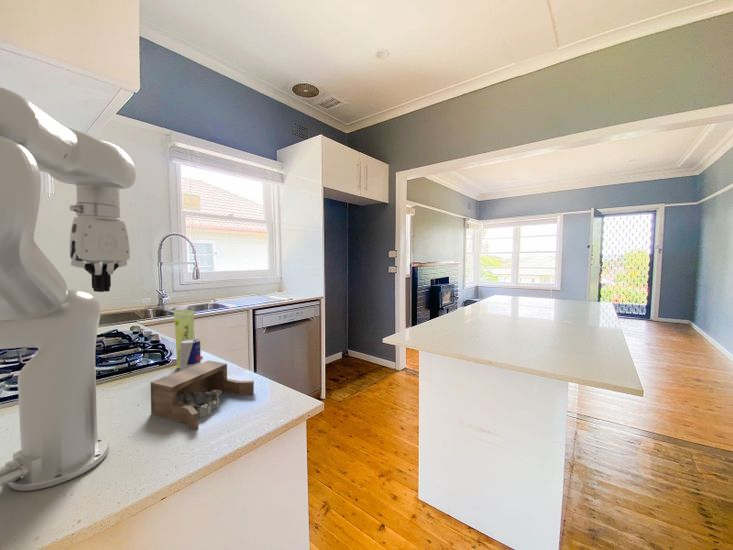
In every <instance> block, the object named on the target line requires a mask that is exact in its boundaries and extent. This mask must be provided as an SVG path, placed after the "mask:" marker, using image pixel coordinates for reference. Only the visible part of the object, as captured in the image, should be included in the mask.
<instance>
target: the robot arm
mask: <svg viewBox="0 0 733 550" xmlns="http://www.w3.org/2000/svg"><path fill="white" fill-rule="evenodd" d="M136 171H137V170H136V167H135V164H134V162H133V161H132V159H131V157H130V156H129V155H128V154H127V153H126V152H125V150H123V149H122V148H120V147H119V146H117V145H115V144H113V143H111V142H108V141H106V140H103V139H101V138H97V137H95V136H92V135H89V134H87V133H84V132H82V131H79V130H76V129H74V128H70V127H67V126H65V125H62V124H61V123H59V122H58V121H56V120H55V118H54V119H53V118H52V117H51V116H50V115H49V114H47V113H46V112H45V111H43V110H42V109H40V108H39V107H37V106H36V105H35V104H33V103H32V102H31V101H29V100H28V99H27V98H25V97H23V96H22V95H20V94H18V93H16V92H14V91H12V90H10V89H7V88H4V87H1V86H0V350H7V349H17V348H19V349H20V348H37V349H38V350H37V352H36V353H35V354H34V355H33V356H32V357H31V358H30V359H29V360H28V361H27V362H26V363H25V364H24V366H23V367H22V368H21V369H20V370H19V374H18V377H17V390H18V392H17V393H18V413H19V430H20V434H19V435H20V450H18V451H16V452H13V453H12V460H9V461H8V462H5V465H4V466H1V467H0V488H1V487H4V486H5V485H8V487H10V489H13V490H14V491H21V492H22V491H23V492H24V491H34V490H35V491H36V490H40V489H46V488H50V487H53V486H56V485H60V484H63V483H64V482H67V481H69V480H73V479H74V478H77V477H79V476H81V475H82V474H84V473H86V472H88V471H90V470H92V469H93V468H95V467H96V466H97V465H98V464H99V463H101V462H102V461H103V460H104V459H105V458H106V457H107V455H108V453H109V442H108V441H107V440H105V439H103V438H100V437H98V413H97V411H98V410H97V409H98V407H97V406H98V405H97V404H98V403H97V383H96V382H97V381H96V379H97V377H96V344H97V337H98V336H97V335H98V330H99V324H100V320H101V305H100V302H99V300H98V299H97V298H96V297H95V296H94V295H92V294H90V293H88V292H85V291H81V290H74V289H68V285H67V282H66V280H65V278H64V277H63V276H62V273H61V272H60V271H59V270H58V269H57V267H56V266H55V264H53V263H52V262H51V260H50V259H49V258H48V257H47V255H46V254H45V253H44V252H43V251H42V250H41V249H40V247H39V246H38V244H37V243H36V241H35V239H34V238H35V237H34V236H35V229H36V225H37V219H38V214H39V207H40V199H41V187H42V183H41V181H42V179H41V172H43V173H47V174H48V175H49V176H50V177H52V178H53V179H55V180H56V181H58V182H61V183H63V184H68V185H73V186H76V189H75V190H76V203H75V205H74V204H71V205H69V211H70V212H74V213H75V215H76V216H75V217H73V220H72V224H71V228H70V235H69V257H70V259H71V262H70V266H71V267H73V268H80V269H84V270H85V271H86V272H88V274H89V275H90V276H91V288H92V289H93V292H95V293H96V292H98V293H104V292H110V289H111V285H112V282H111V281H112V280H111V279H112V277H111V275H113V274H114V272H115V271H116V270H117V269H118V268H122V267H125V266H127V265H128V262H127V261H128V260H130V256H131V250H130V242H129V241H130V240H129V235H128V230H127V228H126V224H125V221H123V220H121V211H120V210H121V206H120V202H121V201H120V199H121V198H120V189H121V190H126V189H130V188H131V187H132V186H133V185H134V184H135V182H136V178H137V177H136V176H137V173H136Z"/></svg>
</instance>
